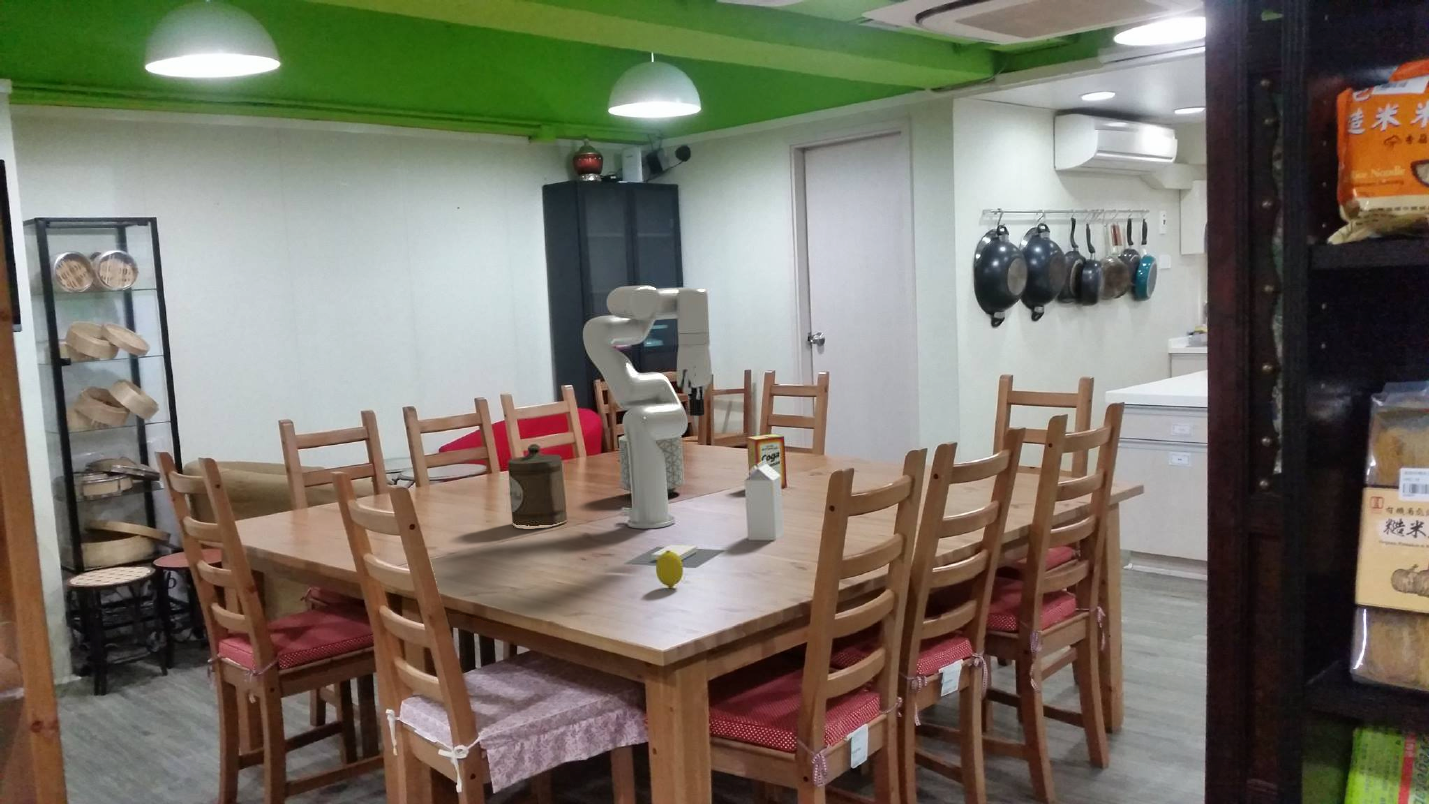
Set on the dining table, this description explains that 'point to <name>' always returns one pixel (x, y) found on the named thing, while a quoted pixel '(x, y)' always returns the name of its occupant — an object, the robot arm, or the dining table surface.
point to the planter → (672, 462)
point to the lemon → (669, 568)
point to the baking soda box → (768, 453)
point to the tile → (677, 551)
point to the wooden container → (537, 489)
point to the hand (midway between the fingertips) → (697, 415)
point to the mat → (690, 562)
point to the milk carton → (764, 503)
